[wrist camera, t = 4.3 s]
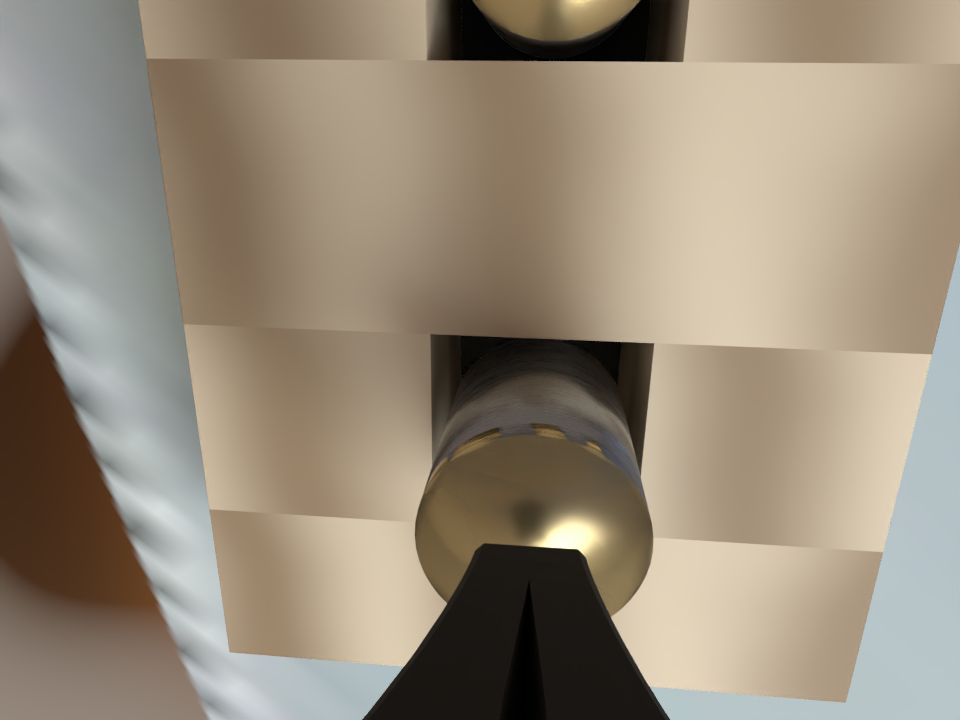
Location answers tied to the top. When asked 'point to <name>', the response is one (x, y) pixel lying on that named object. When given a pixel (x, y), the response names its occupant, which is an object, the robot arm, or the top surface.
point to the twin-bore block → (562, 299)
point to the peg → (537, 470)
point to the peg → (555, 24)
